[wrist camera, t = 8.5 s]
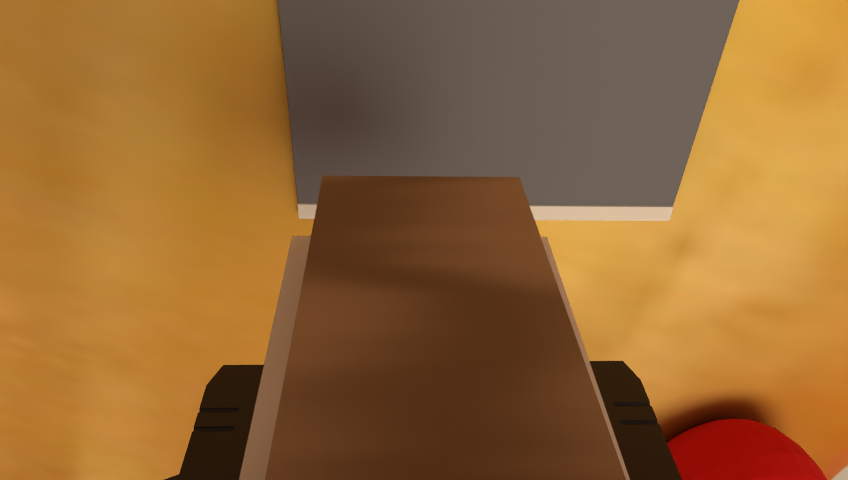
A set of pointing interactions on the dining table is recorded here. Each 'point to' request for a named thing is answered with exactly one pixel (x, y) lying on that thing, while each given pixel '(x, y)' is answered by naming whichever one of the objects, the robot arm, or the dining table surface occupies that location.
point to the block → (434, 343)
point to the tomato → (740, 453)
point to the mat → (505, 95)
